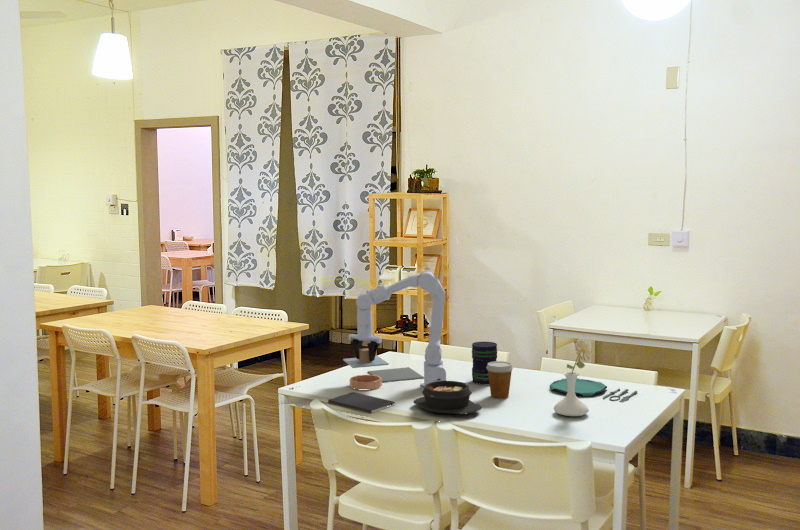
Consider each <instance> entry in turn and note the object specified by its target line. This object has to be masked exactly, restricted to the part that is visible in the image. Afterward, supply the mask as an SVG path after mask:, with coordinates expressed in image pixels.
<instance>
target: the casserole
mask: <svg viewBox="0 0 800 530" xmlns="http://www.w3.org/2000/svg"><path fill="white" fill-rule="evenodd" d="M421 393H422V395H423V396H420V397H417V398H416V399H414V400H413V402H412V403H413V404H414V405H417V406H419V407H420V408H422V409H423V410H424V411H425V410H426V411H428V412H431V411H432V413H434V412H435V413H434V414H439V413H440V415H468V414H473V413H476V412H479V411H480V410H482V405H480V404H478V403H475V402H474V401H472V400H471V399H470V397H471V395H472V393H473V392H472V390H471V389H470V387H469V384H467V383H466V382H465V383H464V382H462V381H458V380H457V381H456V380H446V381H436V382H431V383H428V384H426V385H425V387H423V390H422V391H421Z"/></svg>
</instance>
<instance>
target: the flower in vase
mask: <svg viewBox="0 0 800 530" xmlns="http://www.w3.org/2000/svg"><path fill="white" fill-rule="evenodd" d="M589 346H590V345H589V344H588V343H586V341H585V340H583V339H581V340H580V338H579V339H577V340H576V342H575V345H574V348H575V351H576V355H577V357H576V360H575V363H574V365H570V364H569V363H567V364H566V368H567V369H569V370H570V369H571V371H565V372H563V375H564V376H565V378H566V379H567V383H568V393H566V396H564V397H563V398H562V399H560V400H559V401H557V402H556V404H554V406H553V410H554V412H555V413H557V414H559V415H562V416H566V417H581V416H584V415H586V414H588V412H589V407H588V406H587V404H586V403H584V402H583V401H582V400H581V399H580V398H578V397H577V395H575V381H576V378H578V376H579V375H580V373H579V372H577V371H574V370H575V368H576V366H577V367H578V368H579V369H583V368H584V367H585V366H586V364H585V362H586V363H589V362H590V360H592V350H591V348H590V347H589ZM579 358H580V360H578V359H579Z"/></svg>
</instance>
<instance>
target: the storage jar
mask: <svg viewBox="0 0 800 530" xmlns="http://www.w3.org/2000/svg"><path fill="white" fill-rule="evenodd" d="M471 346H472V347H471V359H472V368H471V376H472V377H471V378H472V379H471V383H473V384H476V385H480V386H481V385H482V386H490V384H489V376H488V370H487V368H486V367H487V365H488V363H489V362H494V361H497V359H498V348H497V347H498V344H497V342H494V341H475V342H472V343H471Z"/></svg>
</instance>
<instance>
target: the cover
mask: <svg viewBox="0 0 800 530" xmlns="http://www.w3.org/2000/svg"><path fill="white" fill-rule="evenodd" d="M342 360H343V362H344V363H346V364H347V365H348V366H350V367H351V368H352V369H357V368H369V367H380V366H388V365H389V364H390V363H388V362H387V361H385V359H383V358H381V357H380V356H378V355H375V359H374V361H370V359H369V349H368V347H367V348H362V349H359V359H357V358H356V357H350V358H343V359H342Z"/></svg>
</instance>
